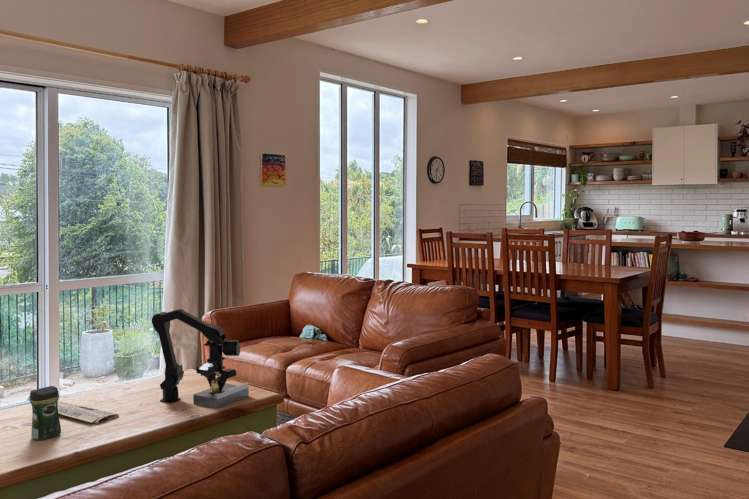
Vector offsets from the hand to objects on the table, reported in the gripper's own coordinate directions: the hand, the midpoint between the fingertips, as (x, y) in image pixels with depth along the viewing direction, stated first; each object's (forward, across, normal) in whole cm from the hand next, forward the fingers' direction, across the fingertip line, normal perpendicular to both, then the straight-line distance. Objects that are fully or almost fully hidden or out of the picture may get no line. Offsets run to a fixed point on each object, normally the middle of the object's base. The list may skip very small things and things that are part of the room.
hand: (216, 390), depth 281 cm
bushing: (+2, 0, 0) cm, 2 cm away
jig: (+5, 0, +3) cm, 6 cm away
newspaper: (+6, -38, -42) cm, 57 cm away
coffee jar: (+5, -26, -63) cm, 68 cm away
